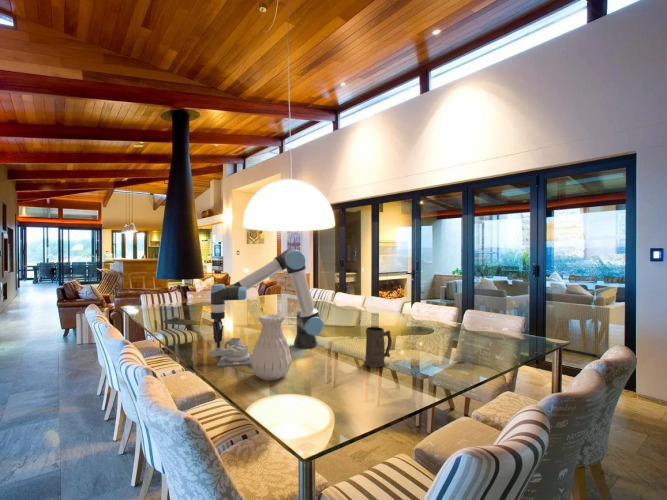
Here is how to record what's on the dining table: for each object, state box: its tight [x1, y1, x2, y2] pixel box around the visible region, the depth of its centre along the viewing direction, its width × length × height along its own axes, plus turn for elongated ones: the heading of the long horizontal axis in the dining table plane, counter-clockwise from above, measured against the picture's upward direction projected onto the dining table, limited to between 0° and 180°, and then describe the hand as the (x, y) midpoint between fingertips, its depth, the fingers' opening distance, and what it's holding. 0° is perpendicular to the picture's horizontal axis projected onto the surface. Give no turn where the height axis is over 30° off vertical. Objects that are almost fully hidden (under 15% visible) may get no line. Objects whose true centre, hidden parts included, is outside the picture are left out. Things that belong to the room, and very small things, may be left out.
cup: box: [223, 337, 242, 349], centre depth 216 cm, size 7×10×9 cm
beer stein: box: [364, 326, 393, 368], centre depth 199 cm, size 15×11×20 cm
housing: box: [216, 347, 253, 368], centre depth 203 cm, size 20×18×8 cm
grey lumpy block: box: [209, 344, 249, 357], centre depth 202 cm, size 20×11×4 cm, turn 103°
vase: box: [250, 314, 293, 382], centre depth 178 cm, size 20×20×30 cm
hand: (217, 353), depth 203 cm, fingers closed
